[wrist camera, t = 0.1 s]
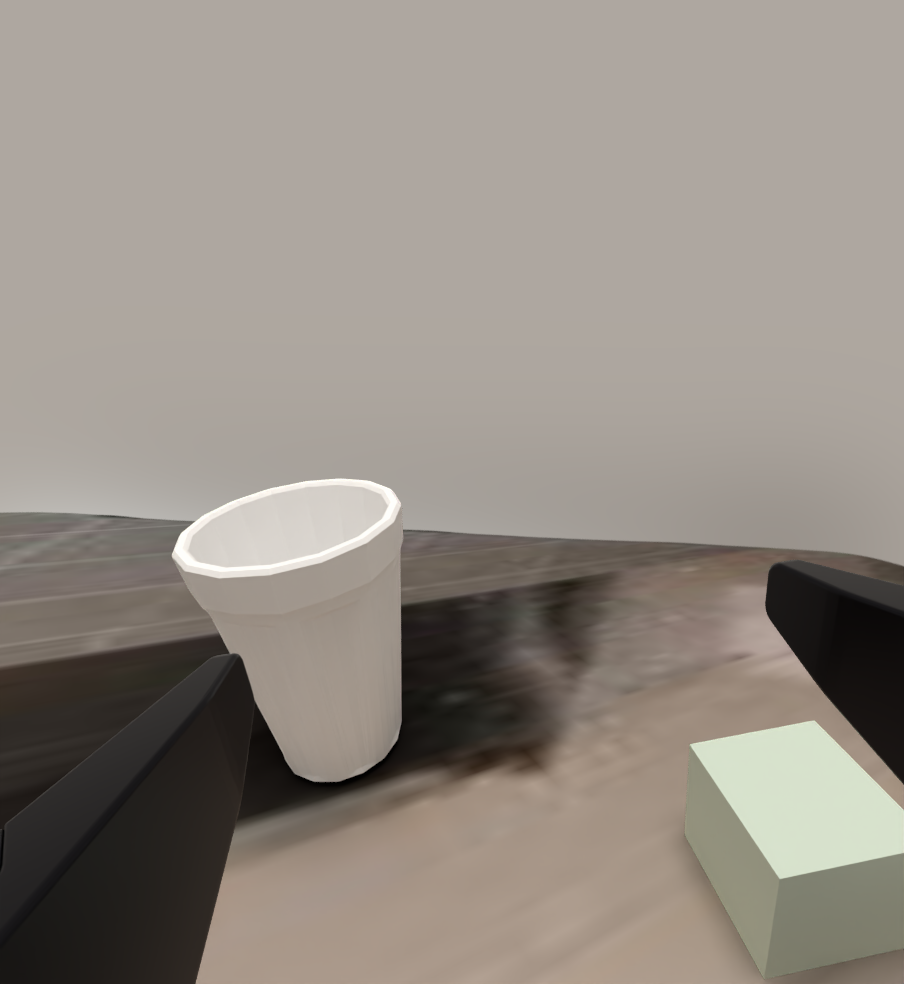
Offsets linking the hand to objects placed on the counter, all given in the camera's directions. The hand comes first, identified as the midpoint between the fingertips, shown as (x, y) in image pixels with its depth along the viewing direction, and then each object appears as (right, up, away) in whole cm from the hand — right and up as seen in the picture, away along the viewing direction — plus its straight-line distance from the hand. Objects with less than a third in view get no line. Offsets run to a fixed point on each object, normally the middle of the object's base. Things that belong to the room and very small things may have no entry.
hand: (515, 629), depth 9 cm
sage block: (+11, -12, +11) cm, 20 cm away
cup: (-7, -11, +20) cm, 24 cm away
